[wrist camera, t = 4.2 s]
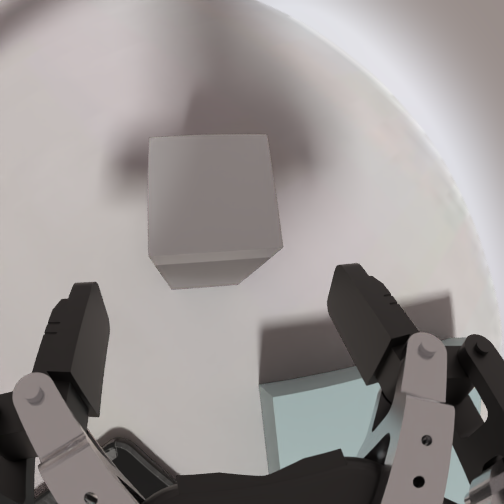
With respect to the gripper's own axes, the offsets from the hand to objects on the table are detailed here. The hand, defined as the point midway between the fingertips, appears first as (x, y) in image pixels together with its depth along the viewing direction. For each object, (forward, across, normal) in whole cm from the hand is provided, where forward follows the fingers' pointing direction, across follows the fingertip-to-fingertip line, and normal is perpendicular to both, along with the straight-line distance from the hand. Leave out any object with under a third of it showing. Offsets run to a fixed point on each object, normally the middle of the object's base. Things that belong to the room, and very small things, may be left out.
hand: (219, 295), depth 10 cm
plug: (+8, 0, +4) cm, 9 cm away
